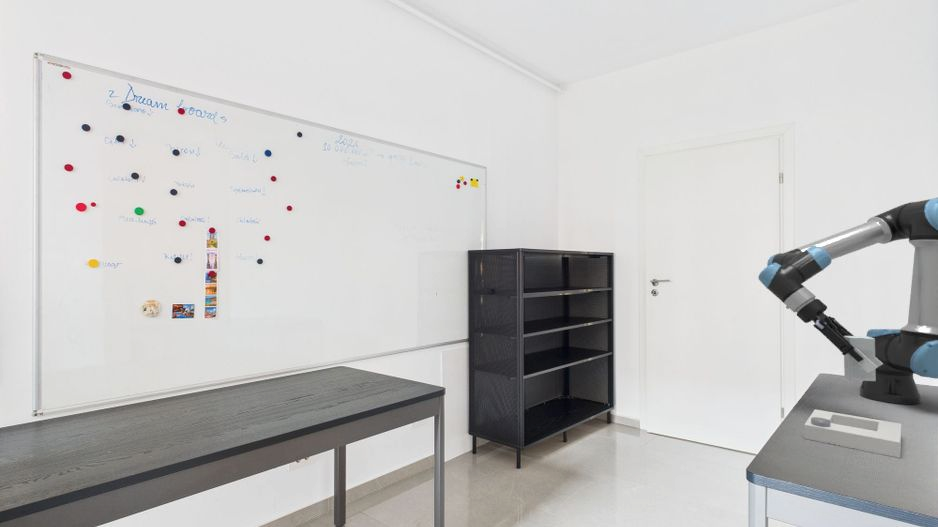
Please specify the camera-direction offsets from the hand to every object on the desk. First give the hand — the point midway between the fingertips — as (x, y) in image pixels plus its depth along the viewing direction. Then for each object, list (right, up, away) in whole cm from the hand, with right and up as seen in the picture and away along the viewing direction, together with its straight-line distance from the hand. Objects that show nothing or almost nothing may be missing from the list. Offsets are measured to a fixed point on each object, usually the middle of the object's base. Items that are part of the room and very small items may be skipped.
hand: (875, 368), depth 132 cm
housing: (-15, -15, -11) cm, 24 cm away
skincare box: (-2, -4, +3) cm, 5 cm away
